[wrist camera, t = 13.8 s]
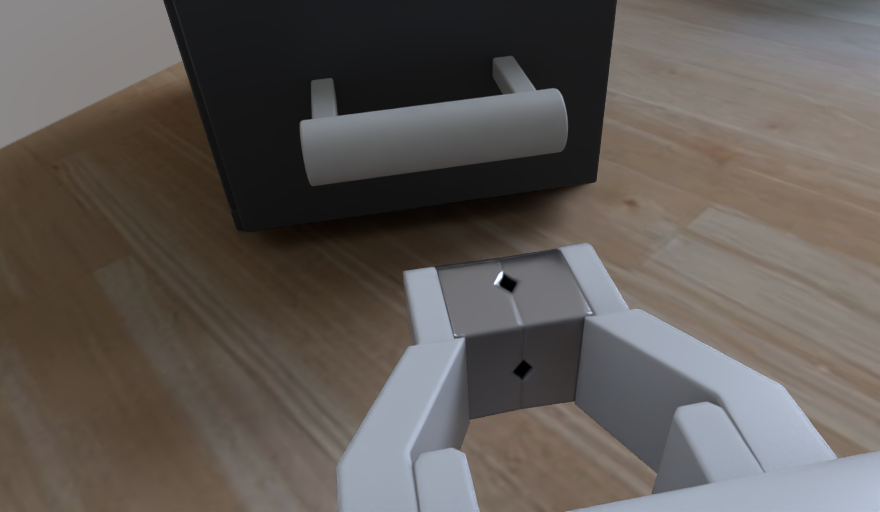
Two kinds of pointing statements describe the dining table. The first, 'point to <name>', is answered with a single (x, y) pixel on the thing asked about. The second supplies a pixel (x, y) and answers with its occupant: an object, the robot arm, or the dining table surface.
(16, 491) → the dining table surface
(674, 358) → the robot arm
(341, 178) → the drawer
